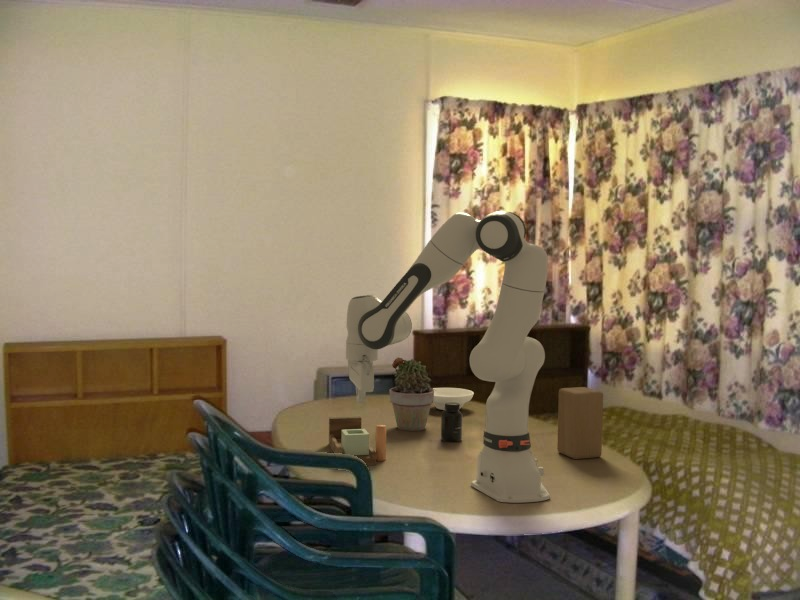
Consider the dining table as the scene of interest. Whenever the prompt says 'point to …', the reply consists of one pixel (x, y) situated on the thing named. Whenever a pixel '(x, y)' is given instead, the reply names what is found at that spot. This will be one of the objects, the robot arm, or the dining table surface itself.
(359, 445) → the socket block
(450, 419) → the supplement bottle
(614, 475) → the dining table surface
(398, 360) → the potted plant
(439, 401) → the bowl
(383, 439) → the dowel
